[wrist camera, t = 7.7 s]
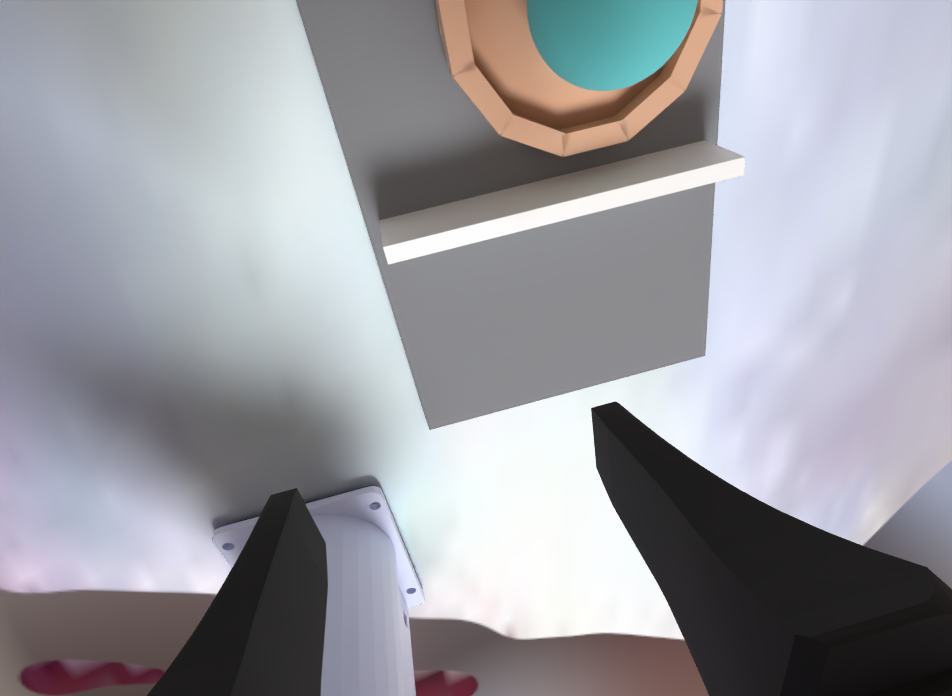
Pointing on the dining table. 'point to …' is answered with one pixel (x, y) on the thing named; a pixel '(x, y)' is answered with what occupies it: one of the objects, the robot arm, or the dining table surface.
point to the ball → (608, 38)
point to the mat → (518, 254)
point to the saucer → (554, 79)
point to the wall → (557, 199)
